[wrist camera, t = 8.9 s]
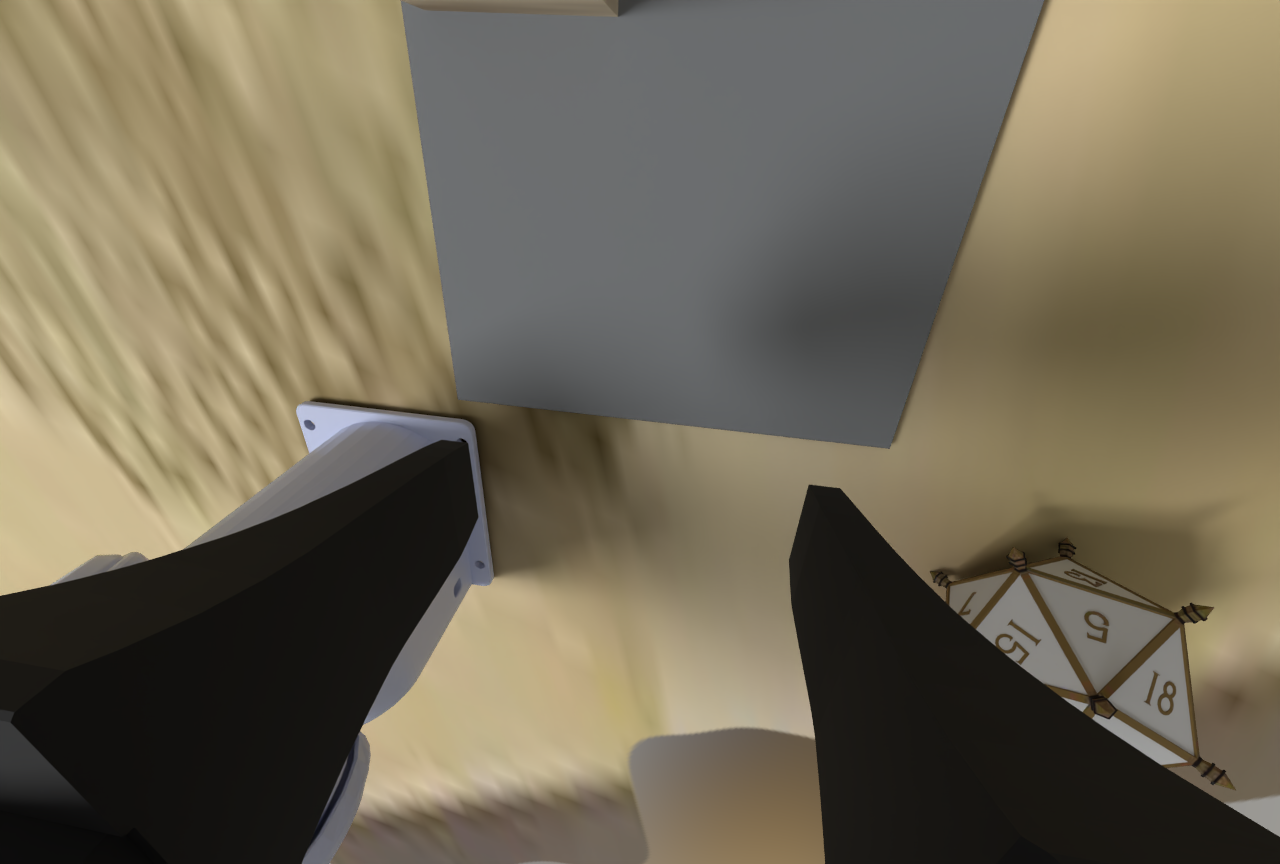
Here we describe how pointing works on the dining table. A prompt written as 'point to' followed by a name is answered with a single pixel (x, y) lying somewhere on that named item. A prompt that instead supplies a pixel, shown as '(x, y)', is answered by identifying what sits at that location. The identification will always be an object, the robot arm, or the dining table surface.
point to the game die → (1094, 649)
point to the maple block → (524, 6)
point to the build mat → (708, 201)
